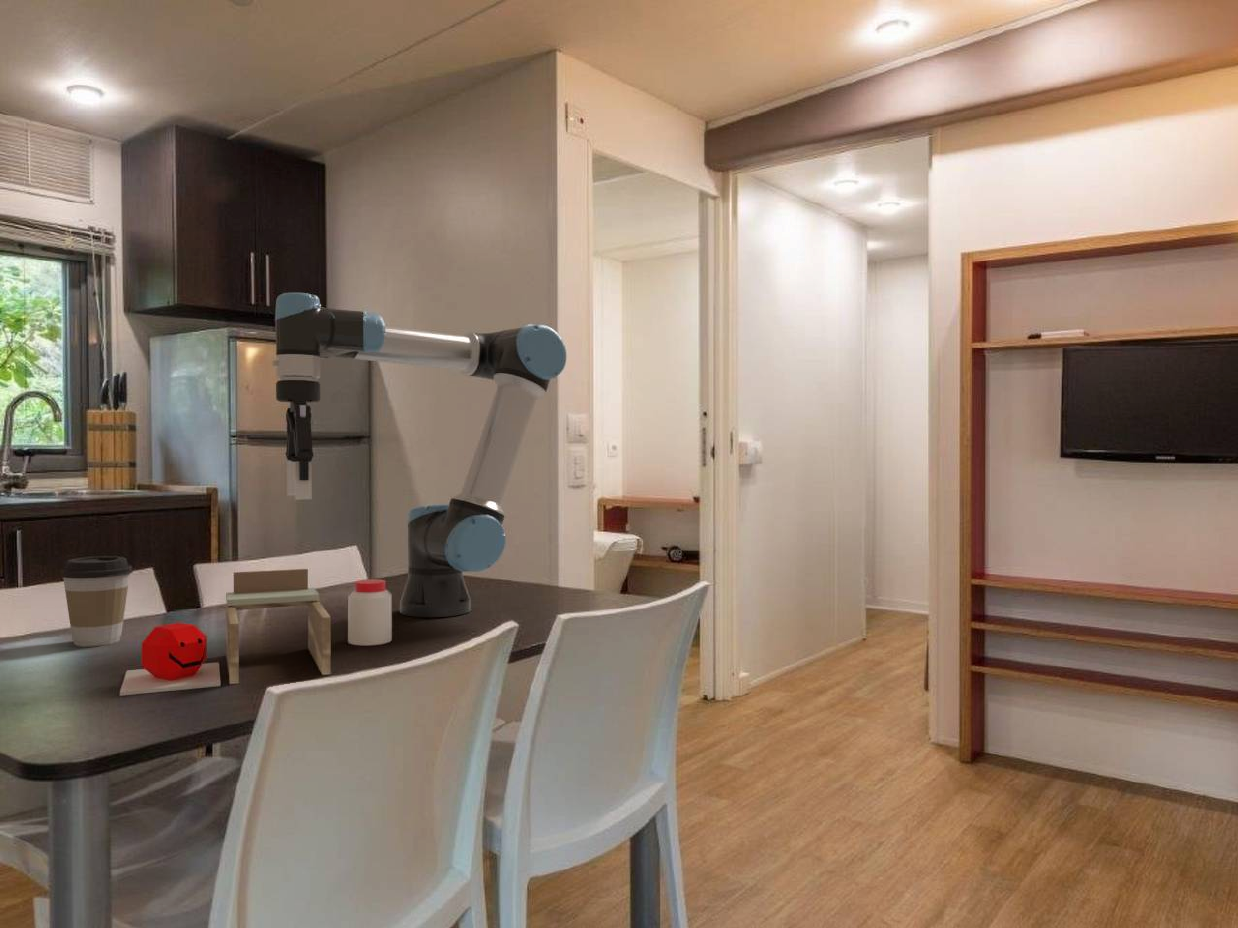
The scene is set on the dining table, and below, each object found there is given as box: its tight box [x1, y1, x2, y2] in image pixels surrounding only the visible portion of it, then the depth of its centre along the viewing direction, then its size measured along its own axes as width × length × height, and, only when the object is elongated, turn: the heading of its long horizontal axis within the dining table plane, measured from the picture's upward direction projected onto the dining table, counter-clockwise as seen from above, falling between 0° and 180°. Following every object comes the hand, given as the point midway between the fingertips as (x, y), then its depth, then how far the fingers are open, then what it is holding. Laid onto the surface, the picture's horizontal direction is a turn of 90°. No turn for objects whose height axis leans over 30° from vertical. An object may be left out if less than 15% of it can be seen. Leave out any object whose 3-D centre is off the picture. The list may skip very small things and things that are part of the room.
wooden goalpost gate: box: [225, 600, 332, 685], centre depth 143 cm, size 14×20×9 cm
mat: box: [119, 661, 221, 697], centre depth 133 cm, size 13×13×1 cm
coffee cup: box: [59, 555, 134, 648], centre depth 158 cm, size 11×11×15 cm
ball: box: [141, 622, 208, 681], centre depth 133 cm, size 8×8×8 cm
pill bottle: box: [347, 578, 393, 647], centre depth 161 cm, size 8×8×11 cm
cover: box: [225, 568, 320, 606], centre depth 151 cm, size 14×8×4 cm, turn 116°
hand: (299, 497), depth 159 cm, fingers open, 13 cm apart
